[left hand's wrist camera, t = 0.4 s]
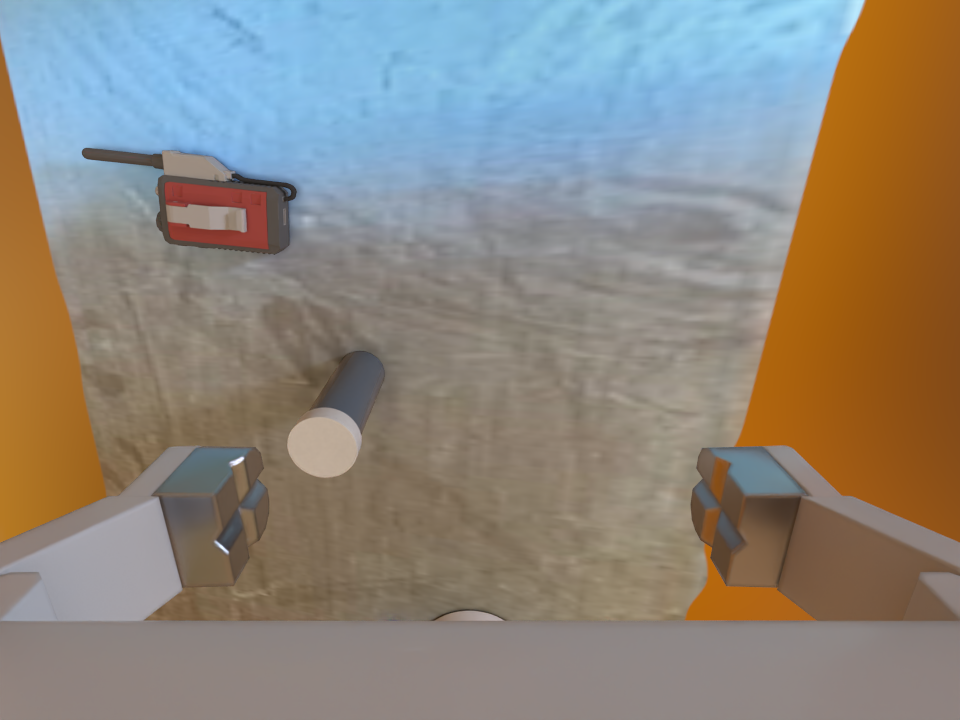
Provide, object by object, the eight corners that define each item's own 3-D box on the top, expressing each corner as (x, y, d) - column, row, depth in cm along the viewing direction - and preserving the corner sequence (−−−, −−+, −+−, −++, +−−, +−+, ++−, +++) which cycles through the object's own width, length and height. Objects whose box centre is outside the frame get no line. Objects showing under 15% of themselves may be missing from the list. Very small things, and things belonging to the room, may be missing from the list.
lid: (285, 451, 48) (278, 462, 47) (306, 396, 46) (299, 406, 45) (348, 475, 49) (343, 487, 48) (371, 422, 47) (367, 433, 46)
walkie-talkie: (299, 164, 53) (90, 140, 52) (284, 165, 49) (57, 140, 48) (301, 253, 56) (104, 233, 56) (287, 262, 52) (74, 240, 51)
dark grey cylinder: (331, 382, 62) (285, 458, 47) (347, 343, 60) (304, 409, 45) (374, 400, 63) (342, 479, 48) (391, 362, 61) (363, 432, 46)
